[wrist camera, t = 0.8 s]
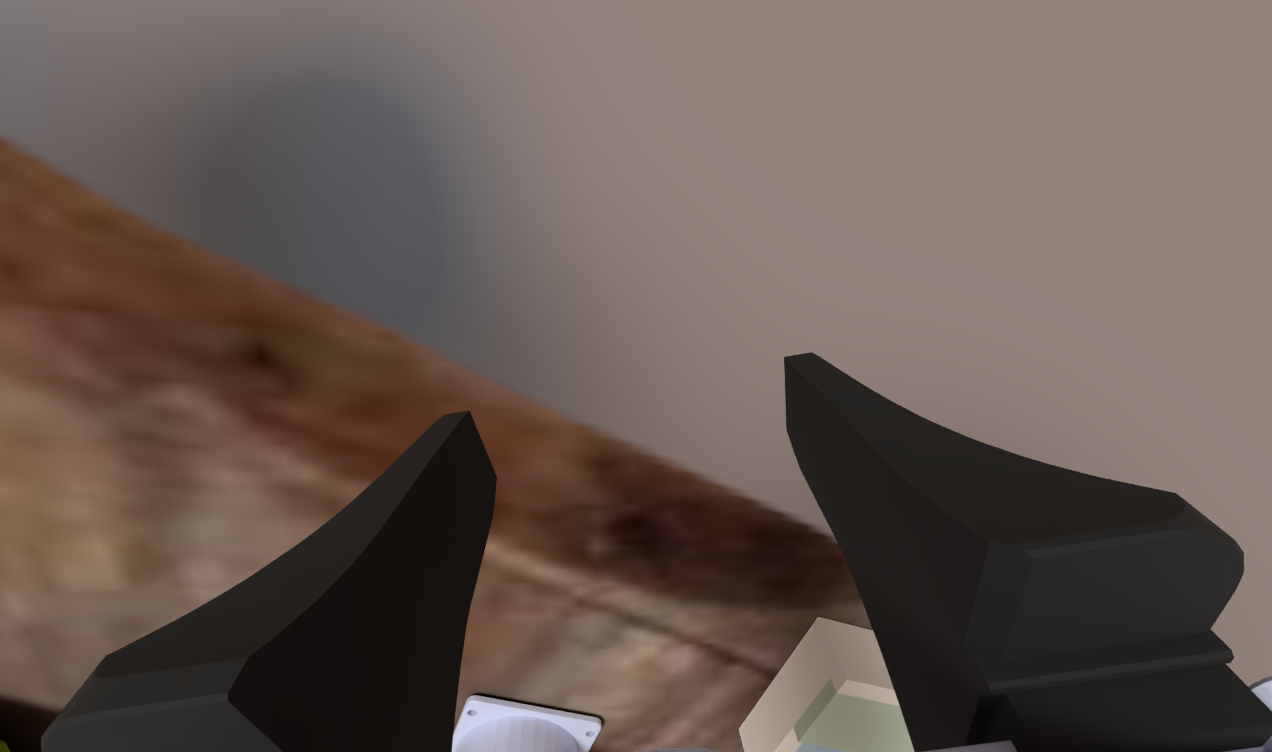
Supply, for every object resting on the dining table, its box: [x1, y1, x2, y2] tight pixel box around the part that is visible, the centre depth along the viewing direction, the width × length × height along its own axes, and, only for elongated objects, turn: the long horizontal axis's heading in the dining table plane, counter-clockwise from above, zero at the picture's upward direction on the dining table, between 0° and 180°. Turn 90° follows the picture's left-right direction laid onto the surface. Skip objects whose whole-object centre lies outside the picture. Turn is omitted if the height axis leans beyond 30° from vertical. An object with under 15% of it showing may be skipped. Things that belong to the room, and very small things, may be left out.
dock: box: [739, 617, 914, 752], centre depth 31 cm, size 10×9×4 cm
